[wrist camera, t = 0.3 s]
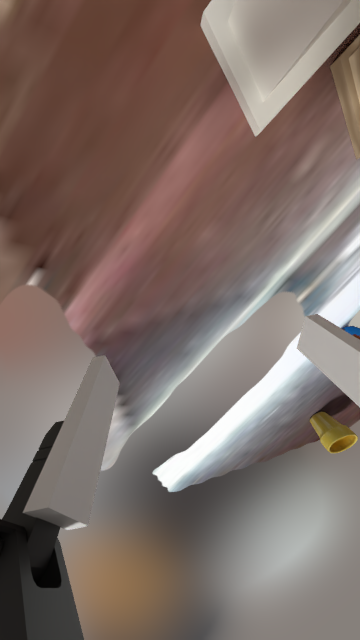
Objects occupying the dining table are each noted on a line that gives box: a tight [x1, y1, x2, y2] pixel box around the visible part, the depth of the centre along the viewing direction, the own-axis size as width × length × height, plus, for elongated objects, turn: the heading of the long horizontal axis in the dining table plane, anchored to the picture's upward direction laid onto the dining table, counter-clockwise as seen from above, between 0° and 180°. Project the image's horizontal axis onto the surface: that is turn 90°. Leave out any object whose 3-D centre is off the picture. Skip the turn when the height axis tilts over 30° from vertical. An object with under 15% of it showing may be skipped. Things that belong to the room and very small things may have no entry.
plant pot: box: [310, 412, 358, 453], centre depth 61 cm, size 10×10×10 cm
